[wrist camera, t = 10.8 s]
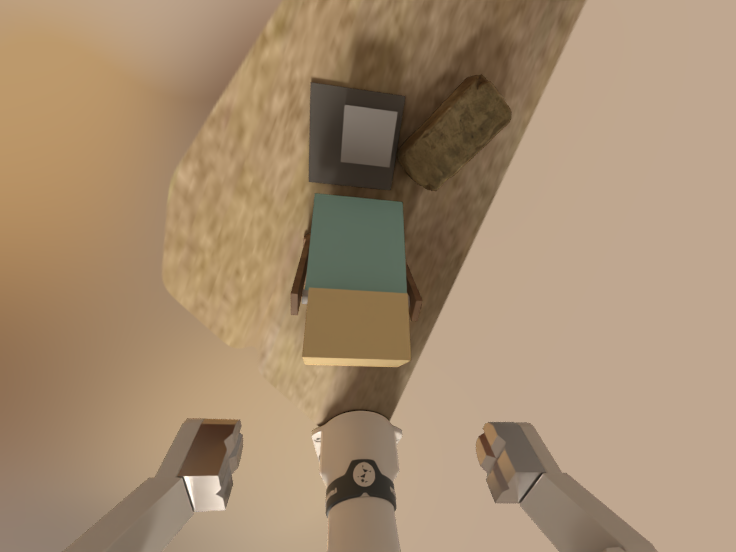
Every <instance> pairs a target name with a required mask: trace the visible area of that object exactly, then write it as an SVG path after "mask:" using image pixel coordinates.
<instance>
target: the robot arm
mask: <svg viewBox="0 0 736 552" xmlns="http://www.w3.org/2000/svg"><path fill="white" fill-rule="evenodd" d="M240 429H241V421H240V420H238V419H201V418H200V419H199V418H198V419H197V418H192V419H191V418H187V419H186V421H185V422H184V423H183V424H182V426H181V428H180V430H179V431H178V433H177V435H176V437H175V439H174V441H173V443H172V445H171V447H170V449H169V451H168V453H167V454H166V456H165V458H164V460H163V462H162V464H161V466H160V468H159V470H158V472H157V474H156V476H155V477H154V478H148V479H147V480H146V481H144V482H143V483H142V484H141V485H140V486H139V487H137V488H136V489H135V490H134V491H133V492H131V493H130V494H129V495H128V496H127V497H126V498H124V499H123V501H121V502H120V503H119V504H117V505H116V506H115V507H114V508H113V509H112V510H110V511H109V512H108V513H107V514H106V515H105V516H103V517H102V518H101V519H100V520H99V521H98V522H97V523H95V524H94V525H93V526H92V527H91V528H89V529H88V530H87V531H86V532H85V533H84V534H82V536H80V537H79V538H78V539H77V540H75V541H74V542H73V543H72V544H71V545H70V546H68V547H67V548H66V549H65V550H64V551H63V552H162V551H163V550H164V549H165V548H166V546H167V545H168V544H169V543H170V542H171V540H172V539H173V538H174V537H175V536H176V534H177V533H178V532H179V531H180V530H181V528H182V527H183V526H184V525H185V524H186V523H187V521H188V520H189V519H190V518H191V517H192V515H193V512H199V511H217V510H225V509H226V506H227V503H228V499H229V496H230V492H231V489H232V486H233V481H232V473H233V472H234V471H235V470H236V469H237V468H238V466H239V462H240V459H241V454H242V448H243V435H242V434H241V433H239V432H240ZM483 430H484V433H483V434H482V435H480V436H479V437H478V439H477V441H476V454H477V458H478V461H479V464H480V466H481V467H482V468H483V469H484V470H485V471H486V472H487V478H486V482H487V484H488V487H489V489H490V492H491V494H492V497H493V499H494V502H495V503H520V506H521V507H522V509H523V510H524V511H525V512H526V513H527V514H528V516H529V517H530V518H531V519H532V520H533V521H534V523H536V525H537V526H538V527H539V528H540V530H541V531H542V532H543V533H544V534H545V535H546V536H547V538H548V539H549V540H550V541H551V542H552V544H553V545H554V546H555V547H556V548H557V549H558V551H559V552H657V550H656V549H655V548H654V546H653V545H652V544H651V543H650V542H649V541H647V540H646V539H645V538H644V537H643V536H642V535H640V534H639V533H638V532H637V531H636V530H634V529H633V528H632V527H631V526H630V525H628V524H627V523H626V522H625V521H624V520H622V519H621V518H620V517H618V515H616V514H615V513H614V512H613V511H612V510H610V509H609V508H608V507H607V506H606V505H604V504H603V503H602V502H601V501H599V500H598V499H597V498H596V497H595V496H593V495H592V494H591V493H590V492H589V491H588V490H586V489H585V488H584V487H583V486H581V485H580V484H579V483H578V482H577V481H576V480H574V479H573V478H572V477H571V476H570V475H568V474H567V473H562V472H561V470H560V468H559V467H558V465H557V463H556V462H555V460H554V459H553V457H552V455H551V454H550V452H549V451H548V449H547V447H546V446H545V444H544V443H543V441H542V439H541V437H540V436H539V434H538V433H537V431H536V429H535V428H534V426H533V425H531V424H530V423H526V422H524V423H522V422H521V423H514V422H488V423H486V424H485V425H484V427H483ZM401 437H402V430H401V429H399V428H397V427H395V426H393V425H392V424H391V423H390V422H389V421H388V419H386V418H385V417H384V416H382V415H380V414H377V413H374V412H370V411H352V412H347V413H343V414H340V415H338V416H336V417H334V418H333V419H331V420H330V421H329V422H327V423H326V424H325V425H323V426H321V427H318V428H316V429H314V430H312V439H313V443H314V446H315V450H316V453H317V457H318V460H319V463H320V472H319V473H320V475H321V476H322V480H323V482H324V484H325V486H326V488H327V491H326V501H325V507H326V516H327V518H328V539H327V540H328V541H327V552H401V550H400V544H399V539H398V533H397V527H396V519H395V510H396V494H395V491H394V484H393V481H394V479H395V478H396V477H397V474H398V473H399V463H398V453H397V444H398V442H399V440H400V439H401Z"/></svg>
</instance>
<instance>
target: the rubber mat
mask: <svg viewBox="0 0 736 552" xmlns="http://www.w3.org/2000/svg"><path fill="white" fill-rule="evenodd" d="M404 102H405V96H400V95H393V94H386V93H380V92H373V91H366V90H359V89H352V88H346V87H339V86H332V85H325V84H318V83H312V82H311V95H310V145H309V182H316V183H326V184H335V185H345V186H354V187H364V188H373V189H383V190H391V185H392V179H393V172H394V166H395V160H396V153H397V147H398V140H399V134H400V128H401V121H402V115H403V108H404ZM344 105H350V106H358V107H365V108H372V109H379V110H386V111H393V112H398V113H397V120H396V126H395V133H394V140H393V147H392V153H391V160H390V167H381V166H372V165H364V164H355V163H346V162H341V146H342V131H343V117H344Z"/></svg>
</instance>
